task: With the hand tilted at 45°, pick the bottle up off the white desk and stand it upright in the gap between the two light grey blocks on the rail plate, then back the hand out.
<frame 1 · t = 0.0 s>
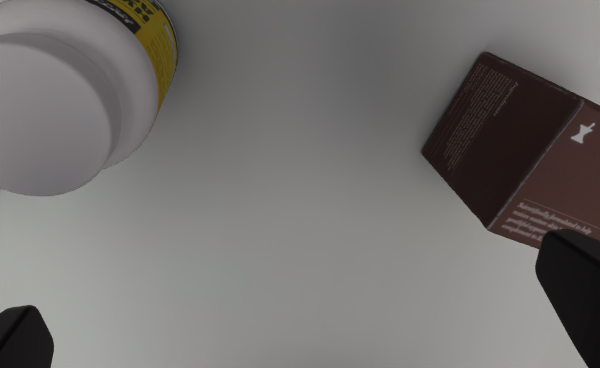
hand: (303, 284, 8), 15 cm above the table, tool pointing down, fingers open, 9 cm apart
box: (490, 121, 24), on the table
supplement bottle: (115, 40, 19), on the table
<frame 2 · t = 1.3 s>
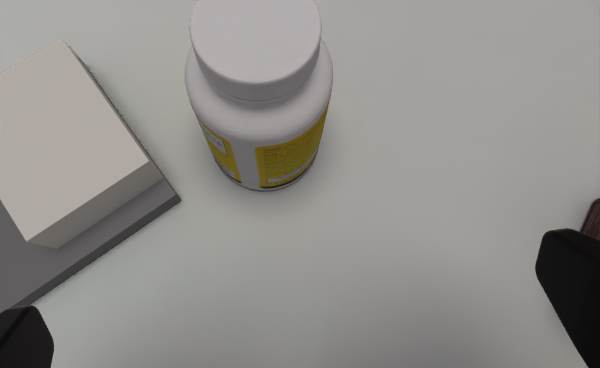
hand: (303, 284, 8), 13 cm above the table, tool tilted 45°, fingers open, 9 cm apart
supplement bottle: (265, 142, 23), on the table
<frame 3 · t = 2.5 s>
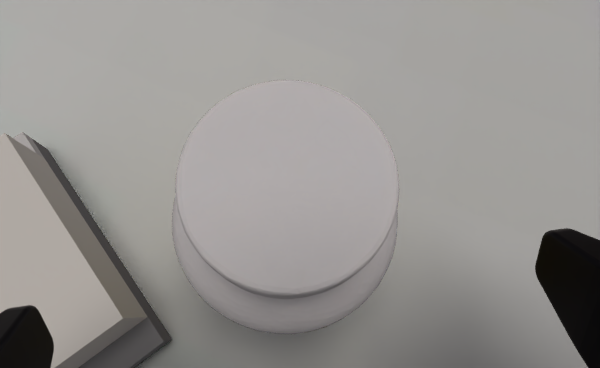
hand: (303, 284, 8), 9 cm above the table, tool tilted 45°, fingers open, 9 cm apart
supplement bottle: (283, 252, 17), on the table
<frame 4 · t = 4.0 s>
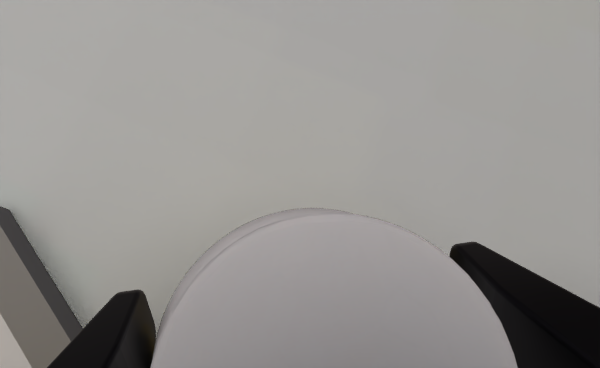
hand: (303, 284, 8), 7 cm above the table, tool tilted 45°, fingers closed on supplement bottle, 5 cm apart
supplement bottle: (298, 338, 14), on the table, touching gripper
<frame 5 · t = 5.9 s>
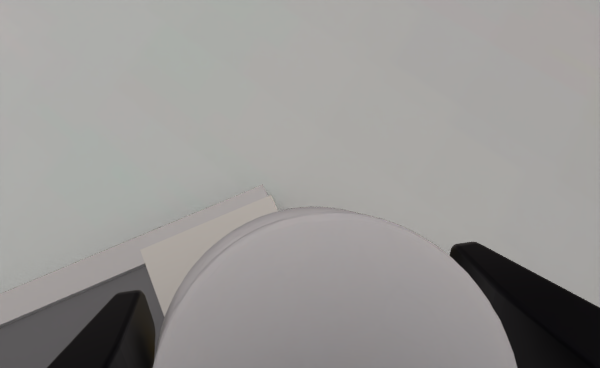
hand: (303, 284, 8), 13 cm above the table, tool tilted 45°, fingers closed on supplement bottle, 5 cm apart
supplement bottle: (300, 336, 14), point 6 cm above the table, touching gripper
when the fingers open (9 cm above the table, at t = 7.9 s): supplement bottle drops 1 cm, resting on rail plate.
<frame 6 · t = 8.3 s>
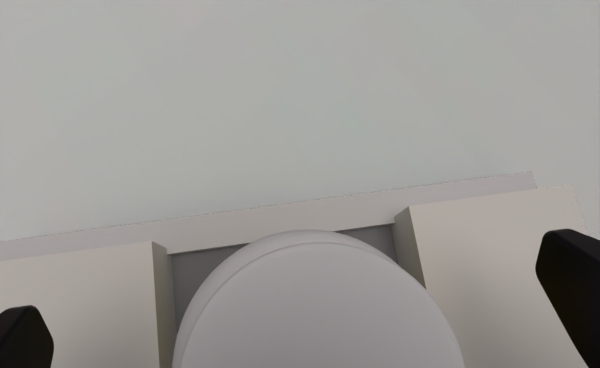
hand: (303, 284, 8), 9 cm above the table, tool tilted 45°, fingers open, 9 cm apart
rail plate: (294, 333, 17), on the table
supplement bottle: (297, 339, 16), point 1 cm above the table, touching rail plate
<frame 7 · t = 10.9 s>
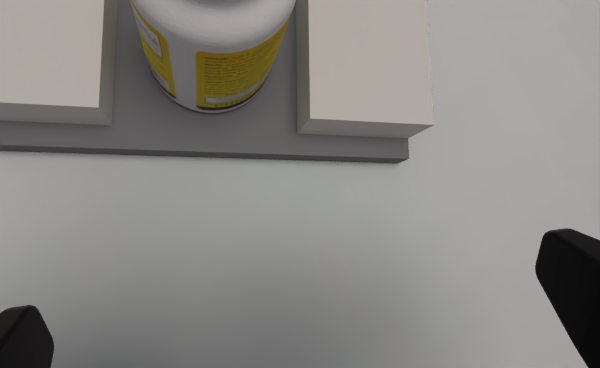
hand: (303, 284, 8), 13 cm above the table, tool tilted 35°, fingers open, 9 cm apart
rail plate: (209, 64, 21), on the table
supplement bottle: (209, 58, 20), point 1 cm above the table, touching rail plate
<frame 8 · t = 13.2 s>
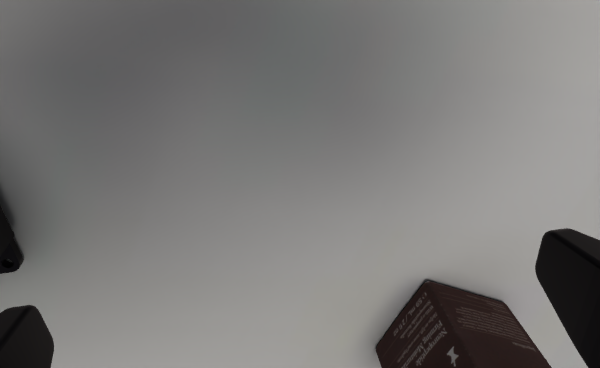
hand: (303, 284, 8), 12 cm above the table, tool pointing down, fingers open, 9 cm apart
box: (437, 322, 27), on the table
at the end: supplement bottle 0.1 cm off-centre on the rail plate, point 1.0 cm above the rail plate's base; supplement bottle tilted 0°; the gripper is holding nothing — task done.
